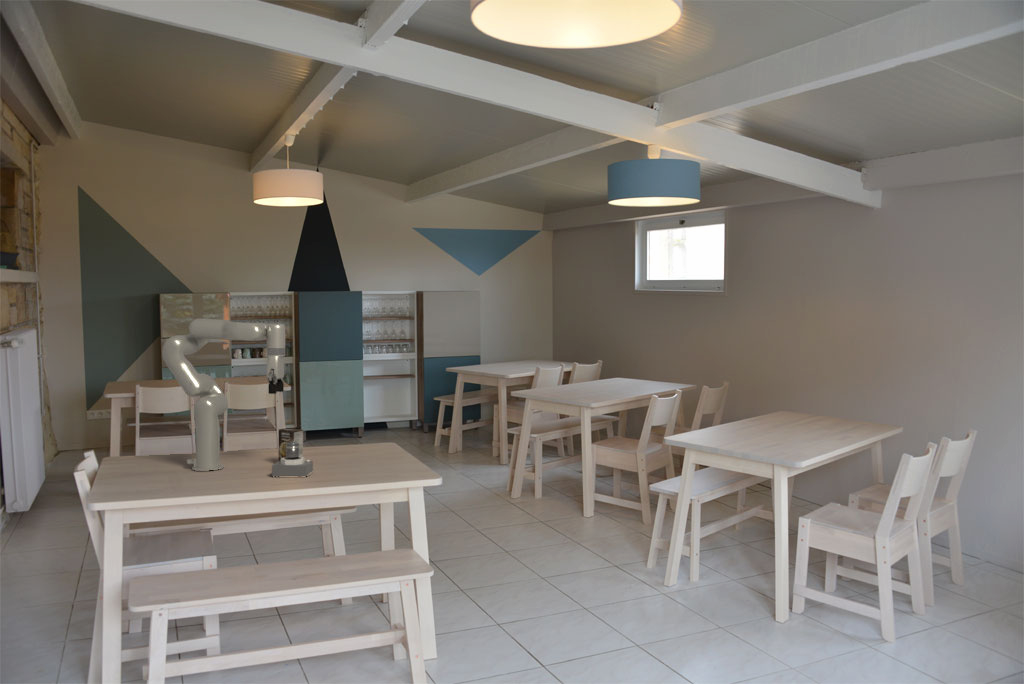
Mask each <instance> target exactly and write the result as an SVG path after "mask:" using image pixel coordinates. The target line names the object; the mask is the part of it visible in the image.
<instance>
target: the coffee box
mask: <svg viewBox="0 0 1024 684" xmlns="http://www.w3.org/2000/svg"><path fill="white" fill-rule="evenodd" d="M287 443H299V456H301V457H304V429H302V428H301V429H300V428H291V427H288V428H280V429H278V461H281V458H283V457H286V444H287Z"/></svg>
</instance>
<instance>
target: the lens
mask: <svg viewBox="0 0 1024 684" xmlns="http://www.w3.org/2000/svg"><path fill="white" fill-rule="evenodd" d="M286 459H287V460H295V459H299V443H287V444H286Z"/></svg>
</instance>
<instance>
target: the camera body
mask: <svg viewBox="0 0 1024 684" xmlns="http://www.w3.org/2000/svg"><path fill="white" fill-rule="evenodd" d="M312 471H313V472H314V461H313V460H310V459H306V458H305V457H304V456H303V457H301V456H299V459H295V460H287V459H286V457H283V458H281V461H279V460H278V461H277V462H275V463H273V464H272V465H271V477H272V476H307V475H308V474H309V473H310V472H312Z"/></svg>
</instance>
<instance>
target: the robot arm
mask: <svg viewBox="0 0 1024 684" xmlns="http://www.w3.org/2000/svg"><path fill="white" fill-rule="evenodd" d="M285 325H286V324H284V323H269V324H268V323H263V322H237V321H231V320H229V319H218V318H217V319H216V318H215V319H214V318H196V319H193V320H192V321H191V322H190V323H189V326H188V330H189V333H188V334H186V335H184V334H183V335H182V334H181V335H179V334H178V335H173V336H171V337H169V338H167V340H166V341H165V342H164V344H163V346H162V350H161V353H162V355H161V356H162V359H163V361H164V363H165V365H166V366H167V368H168V369H169V370H170V373H172V375H173V376H174V378H175V379H176V381H177V383H178V384H179V386H180V387H181V388H182V391H184V393H185V394H186V395H187V396H189V397H193V398H195V397H199V398H197V400H196V401H195V403H194V406H193V415H194V420H195V458H194V459H190V458H188V459H187V460H186V463H187V465H193V466H192V467H191V470H192V471H194V470H195V472H210V471H209V470H214V471H218V469H219V470H223V469H224V468H223V467H225V465H224V464H223V463H221V451H220V450H221V447H220V446H221V442H220V441H221V436H220V435H221V433H220V432H221V429H220V428H221V426H220V420H219V417H218V416H221V415H223V414H225V413H226V412H227V410H228V408H229V401H228V399H227V397H226V395H225V394H224V392H223V390H222V389H221V387H220V386H219V385H218V383H217V382H216V380H215V379H214V378H213V377H212V376H210V375H209V374H206V373H198V370H196V368H195V367H194V365H193V364H192V363H191V362H190V360H188V359H187V358H186V357H185V356H186V355H192V354H196V353H197V352H198V351H200V350H201V349H202V348H203V347H204V346H205V345H207V344H208V343H209V342H210V341H211V340H226V341H230V340H232V341H247V342H256V341H257V342H258V341H261V342H262V341H266V357H267V360H266V361H267V362H266V379H267V383H268V394H269V395H270V394H271V395H275V394H277V393H278V392H279V393H283V392H284V391H285V390H284V381H285V379H284V377H285V358H284V357H286V326H285Z"/></svg>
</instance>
